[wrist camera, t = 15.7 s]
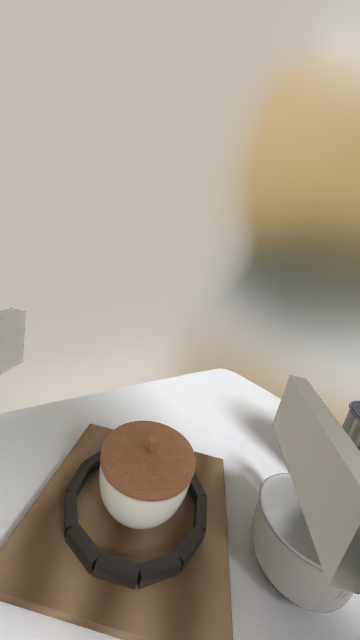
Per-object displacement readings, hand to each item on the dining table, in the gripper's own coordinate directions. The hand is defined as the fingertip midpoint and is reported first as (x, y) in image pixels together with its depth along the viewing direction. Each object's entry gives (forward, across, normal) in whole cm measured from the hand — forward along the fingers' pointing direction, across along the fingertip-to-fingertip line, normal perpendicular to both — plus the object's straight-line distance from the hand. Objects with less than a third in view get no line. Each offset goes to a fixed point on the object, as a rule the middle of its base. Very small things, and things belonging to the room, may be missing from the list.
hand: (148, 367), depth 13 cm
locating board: (+14, 0, -25) cm, 29 cm away
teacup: (+14, +19, -26) cm, 35 cm away
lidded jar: (+14, 0, -25) cm, 28 cm away
